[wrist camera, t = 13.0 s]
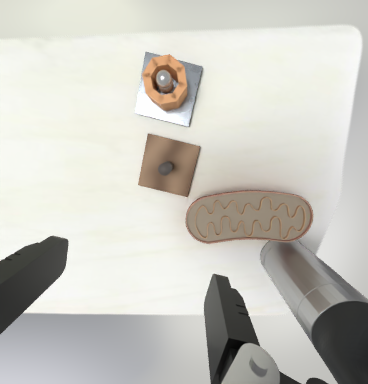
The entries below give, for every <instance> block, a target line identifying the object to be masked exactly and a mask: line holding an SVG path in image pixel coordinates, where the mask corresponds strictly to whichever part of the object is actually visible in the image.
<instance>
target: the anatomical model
mask: <svg viewBox="0 0 368 384" xmlns="http://www.w3.org/2000/svg"><path fill="white" fill-rule="evenodd" d="M312 221H313V210H312V208H311V206H310V204H309V203H308V202H307V201H306V200H305V199H304V198H302V197H300V196H298V195H294V194H287V193H279V192H271V191H234V192H227V193H221V194H215V195H210V196H204V197H201V198H199V199H197V200H196V201H194V202H193V203H192V204H191V206H190V207H189V209H188V211H187V214H186V227H187V229H188V232H189V233H190V234H191V236H192V237H193V238H195V239H196V240H198V241H200V242H202V243H207V244H211V243H218V242H225V241H232V240H245V239H257V240H270V241H278V242H291V241H295V240H297V239H299V238H301V237H302V236H303V235H305V234H306V233H307V231H308V230H309V229H310V227H311V224H312Z"/></svg>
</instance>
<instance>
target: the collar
mask: <svg viewBox="0 0 368 384" xmlns="http://www.w3.org/2000/svg"><path fill="white" fill-rule="evenodd" d="M160 70H167V71H168V72H169V73H170V74H171V76H172V78H173V79H174V80H175V81H176V82H178V83H179V84H178V85H177V87H176V88H175V90H174V92H173V93H171V94H166V95H161V94H160V93H158V92H157V88H156V87H157V86H158V85H157V82H156V75H157V73H158V72H159V71H160ZM142 76H143V81H144V87H145V92H146V94H147V96H148V97H149V98H150V100H151V101H152V102H153V103H155V104H156V105H157V106H158V107H160V108H161V109H162V110H164V111H166V110H172V109H178V108H179V107H180V106H181V104H182V103H183V101H184V100H185V98H186V97H187V82H186V74H185V67H184V66H183V65H182V64H181V63H180V62H178V61H177V60H176V59H175V58H174V57H172V56H171V55H170V54H169V55H164V56H159V57H154V58H152V59H151V60H150V62H149V64H148V65H147V67H146V69H145V70H144V72H143V74H142Z"/></svg>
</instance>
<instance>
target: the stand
mask: <svg viewBox="0 0 368 384" xmlns="http://www.w3.org/2000/svg"><path fill="white" fill-rule="evenodd" d="M199 149H200V147H199V146H195V145H191V144H187V143H183V142H179V141H175V140H172V139H168V138H164V137H160V136H156V135H152V134H148V136H147V141H146V146H145V152H144V157H143V162H142V167H141V172H140V178H139V183H138V185H140V186H144V187H148V188H152V189H156V190H160V191H165V192H169V193H173V194H177V195H181V196H185V197H187V196H188V192H189V188H190V185H191V181H192V177H193V173H194V169H195V165H196V161H197V157H198V153H199Z"/></svg>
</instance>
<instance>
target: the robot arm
mask: <svg viewBox="0 0 368 384" xmlns="http://www.w3.org/2000/svg"><path fill="white" fill-rule="evenodd" d="M67 251H68V240H67V239H65V238H60V237H56V236H50V237H48V238H47V239H45V240H43V241H42V242H40V243H35V244H32V245H28V246H25V247H23V248H22V249H20V250H18V251H17V252H15V253H14V254H11V255H10V256H8V257H6V258H5V260H4V259H3V260H1V261H0V334H1V333H2V332H3V331H4V330H5V329H6V328H7V327H8V326H9V325H10V324H12V322H13V321H15V320H16V319H17V318H18V317H19V316H20V315H21V314H22V313H23V312H24V311H25V310H26V309H27V308H28V307H29V306H30V305H31V304H32V303H33V302H34V301H35V300H36V299H37V298H38V297H39V296H40V295H41V294H42V293H43V292H44V291H45V290H46V289H48V288H49V287H50V286H51V285H52V284H53V283H54V282H55V281H56V280H57V279H58V278H59V277H60V276H61V274H62V273H63V271H64V269H65V266H66V260H67ZM261 263H262V265H263V267H264V269H265V270H266V272H267V274H268V275H269V277H270V278H271V280H272V281H273V283H274V285H275V286H276V288H277V289H278V291H279V292H280V294H281V296H282V297H283V299H284V300H285V302H286V303H287V305H288V306H289V308H290V310H291V311H292V313H293V314H294V316H295V317H296V319H297V321H298V322H299V324H300V325H301V327H302V328H303V330H304V331H305V333H306V334H307V336H308V338H309V339H310V341H311V342H312V344H313V345H314V347H315V349H316V350H317V352H318V353H319V355H320V356H321V358H322V359H323V361H324V362H325V364H326V366H327V367H328V368H329V370H330V372H331V373H332V375H333V376H334V378H335V380H336V381H337V383H338V384H368V299H367V298H365V297H364V296H363V295H362V294H361V293H360V292H358V291H357V290H356V289H354V288H353V287H352V286H351V285H350V284H349V283H347V282H346V281H345V280H344V279H343V278H342V277H341V276H340V275H338V274H337V273H336V272H335V271H334V270H332V269H331V268H330V267H329V266H327V264H325V263H324V262H323V261H322V260H320V259H319V258H318V257H317V256H316V255H314V254H313V253H312V252H311V251H310V250H308V249H307V248H305V247H304V246H303V245H302V244H301V243H299V242H298V241H297V240H295V241H291V242H278V241H269V242H268V243H267V244H266V245H265V246H264V248H263V250H262V252H261ZM204 315H205V326H206V337H207V347H208V357H209V369H210V379H211V384H301V383H299V382H297V381H295V380H293V379H292V378H290V377H288V376H286V375H284V374H283V373H281V372H280V371H279V369H278V367H277V365H276V363H275V361H274V360H273V358H272V357H271V356H270V355H269V354H268V353H267V352H266V351H265V350H264V349H263V348H261V347H260V345H259V342H258V339H257V336H256V333H255V331H254V328H253V325H252V323H251V320H250V317H249V316H248V315H249V314H248V311H247V309H246V306H245V303H244V300H243V298H242V296H241V295H240V294H239V292H238V291H237V290H236V289H233V288H231V286H230V283H229V280H228V277H225V276H221V275H217V274H213V276H212V278H211V281H210V284H209V288H208V291H207V294H206V297H205V302H204ZM306 384H328V383H326V382H325V381H323V380H321V379H318V378H310V379H308V380H307V382H306Z"/></svg>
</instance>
